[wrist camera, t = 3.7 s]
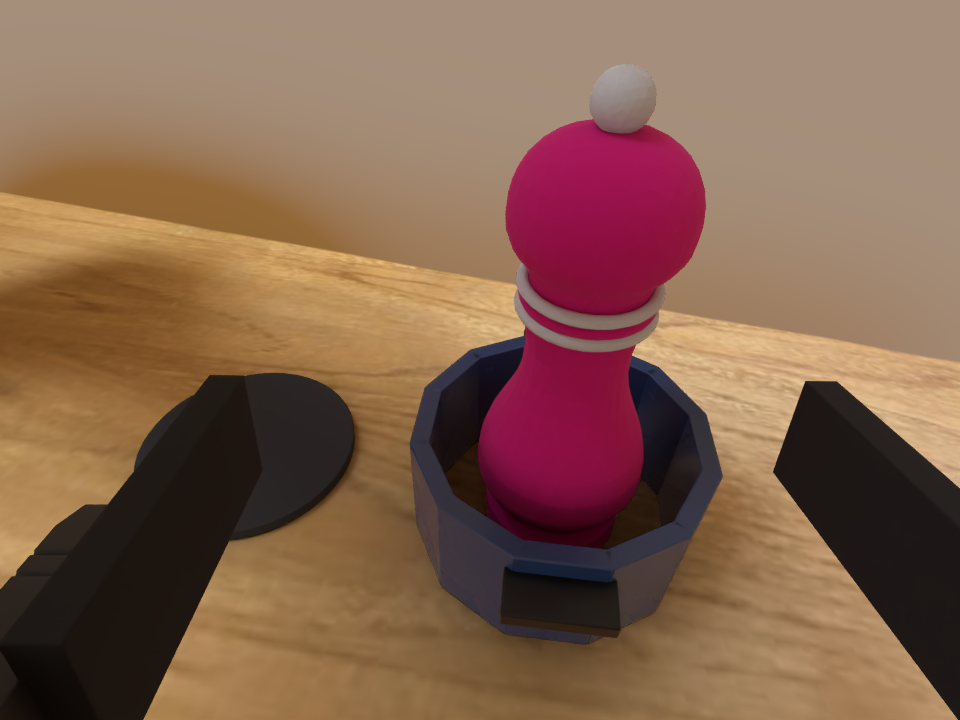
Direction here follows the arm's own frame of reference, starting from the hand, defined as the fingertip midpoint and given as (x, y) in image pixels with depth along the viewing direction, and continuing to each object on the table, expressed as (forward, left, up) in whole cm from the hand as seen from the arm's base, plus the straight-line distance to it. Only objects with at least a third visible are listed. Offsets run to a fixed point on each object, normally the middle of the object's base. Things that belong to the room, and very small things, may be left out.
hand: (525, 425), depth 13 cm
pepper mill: (-3, +7, -14) cm, 16 cm away
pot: (-3, +7, -14) cm, 16 cm away
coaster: (-17, -1, -14) cm, 22 cm away
